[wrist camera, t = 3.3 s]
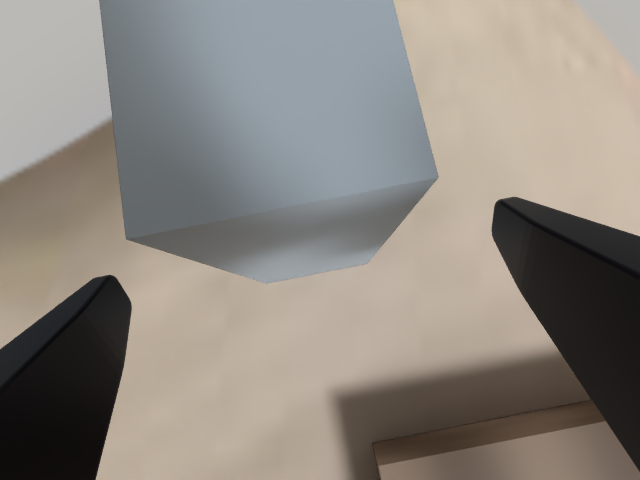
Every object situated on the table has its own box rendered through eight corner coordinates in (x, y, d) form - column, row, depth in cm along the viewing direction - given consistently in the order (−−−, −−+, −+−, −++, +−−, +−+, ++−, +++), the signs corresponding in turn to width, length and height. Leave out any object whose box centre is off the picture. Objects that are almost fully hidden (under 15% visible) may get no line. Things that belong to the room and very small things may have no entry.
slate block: (266, 283, 19) (125, 239, 6) (249, 186, 20) (95, -32, 7) (367, 263, 19) (438, 176, 6) (346, 167, 20) (370, -86, 7)
